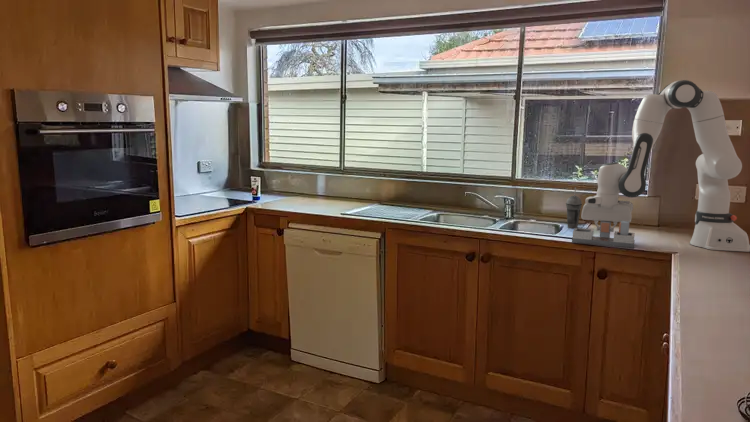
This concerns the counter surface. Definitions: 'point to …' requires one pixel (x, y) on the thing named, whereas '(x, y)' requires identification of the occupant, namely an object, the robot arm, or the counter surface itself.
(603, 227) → the grey and orange block
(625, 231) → the block
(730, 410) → the counter surface
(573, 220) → the beverage cup
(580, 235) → the rail
